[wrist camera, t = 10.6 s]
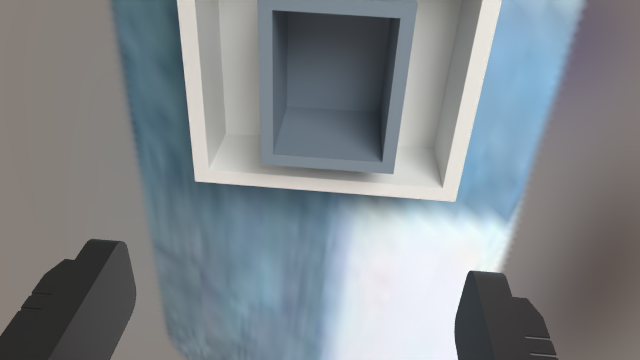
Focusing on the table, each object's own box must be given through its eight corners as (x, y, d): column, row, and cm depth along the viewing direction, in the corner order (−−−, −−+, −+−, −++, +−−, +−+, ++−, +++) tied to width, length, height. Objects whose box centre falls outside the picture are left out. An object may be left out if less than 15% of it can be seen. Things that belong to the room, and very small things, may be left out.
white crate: (200, -99, 25) (168, -87, 21) (491, -81, 25) (517, -65, 21) (216, 137, 33) (195, 181, 28) (443, 154, 32) (455, 201, 28)
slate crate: (277, -37, 26) (256, -7, 21) (407, -29, 26) (417, 3, 21) (277, 110, 30) (260, 164, 25) (388, 118, 30) (393, 174, 25)
